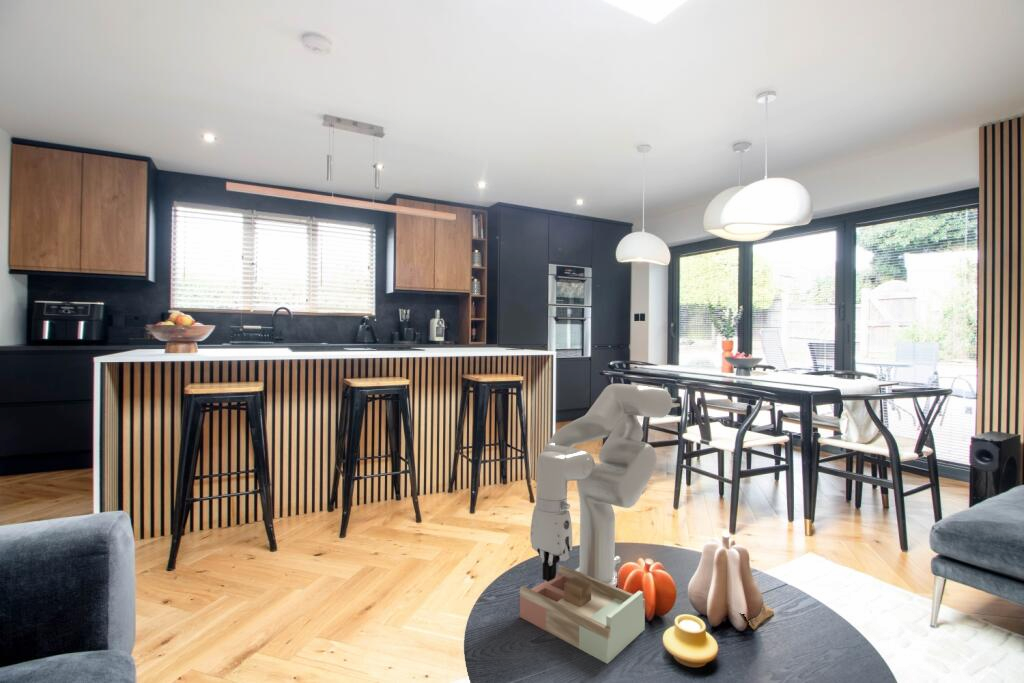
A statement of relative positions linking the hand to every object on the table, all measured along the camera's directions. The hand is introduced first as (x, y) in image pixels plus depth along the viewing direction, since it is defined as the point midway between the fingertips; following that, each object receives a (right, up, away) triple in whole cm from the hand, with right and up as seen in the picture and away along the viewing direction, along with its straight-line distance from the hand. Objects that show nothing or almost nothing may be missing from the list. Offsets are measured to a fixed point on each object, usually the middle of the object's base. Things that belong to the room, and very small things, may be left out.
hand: (549, 578), depth 117 cm
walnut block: (+6, -3, -5) cm, 8 cm away
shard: (+50, -9, -2) cm, 51 cm away
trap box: (+7, -8, -6) cm, 12 cm away
